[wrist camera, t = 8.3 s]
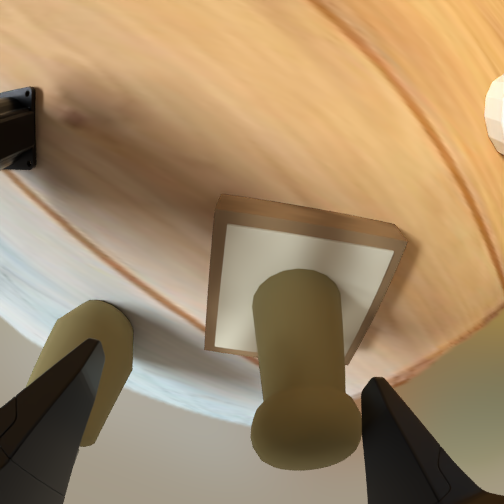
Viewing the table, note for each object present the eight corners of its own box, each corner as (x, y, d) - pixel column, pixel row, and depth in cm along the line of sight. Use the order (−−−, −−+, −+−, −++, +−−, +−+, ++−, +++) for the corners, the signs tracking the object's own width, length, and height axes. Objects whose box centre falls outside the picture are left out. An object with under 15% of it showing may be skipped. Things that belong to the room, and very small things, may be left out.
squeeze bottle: (135, 361, 29) (83, 516, 13) (69, 327, 27) (-5, 468, 12) (155, 315, 25) (84, 515, 9) (75, 273, 23) (-34, 445, 8)
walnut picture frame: (209, 328, 25) (204, 351, 23) (221, 193, 19) (214, 209, 17) (343, 343, 26) (348, 366, 23) (394, 224, 19) (408, 242, 17)
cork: (348, 324, 21) (378, 466, 11) (269, 344, 22) (265, 484, 13) (330, 256, 18) (373, 423, 9) (237, 283, 19) (214, 448, 10)
